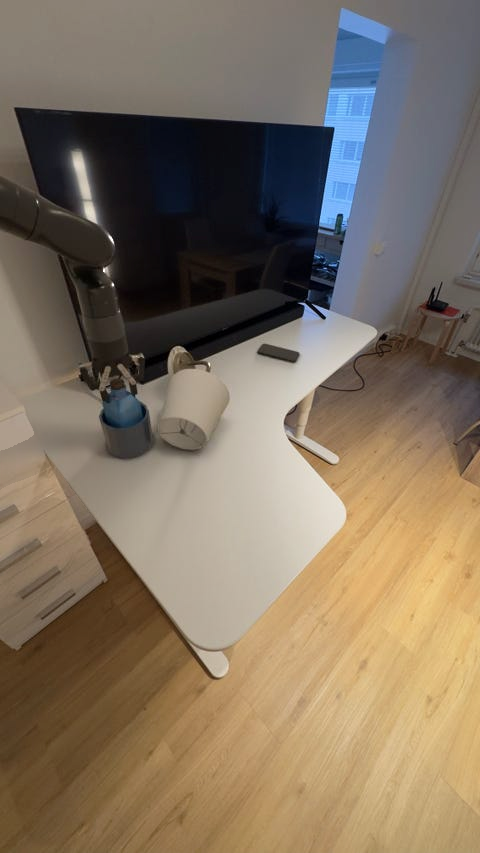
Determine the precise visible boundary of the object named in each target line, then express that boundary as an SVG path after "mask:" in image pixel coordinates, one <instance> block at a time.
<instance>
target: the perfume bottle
mask: <svg viewBox="0 0 480 853" xmlns="http://www.w3.org/2000/svg"><path fill="white" fill-rule="evenodd" d="M109 385H110V386H109V390H110V392H108V393H107V395H108V399H109V403H106V401H104V402H103V401H102V402H101V404H102V409H103V408H104V412H105V416H106V420H107V423H108V424H110V425H111V426H113V427H114V428H126V427H130V426H134V425H135V424H137V423H139V422H141V421H142V420H143V416H142V410H141V404H140V401H141V400H139V399H138V398H137V397H136V396H135V397H134V396H132V393H131V392H130V391H128V390H127V385H126V383H125V380H124V379H123V378H121V377H120V378H119V377H118V378H117V377H116V378H113V379H111V380H110V381H109Z"/></svg>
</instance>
